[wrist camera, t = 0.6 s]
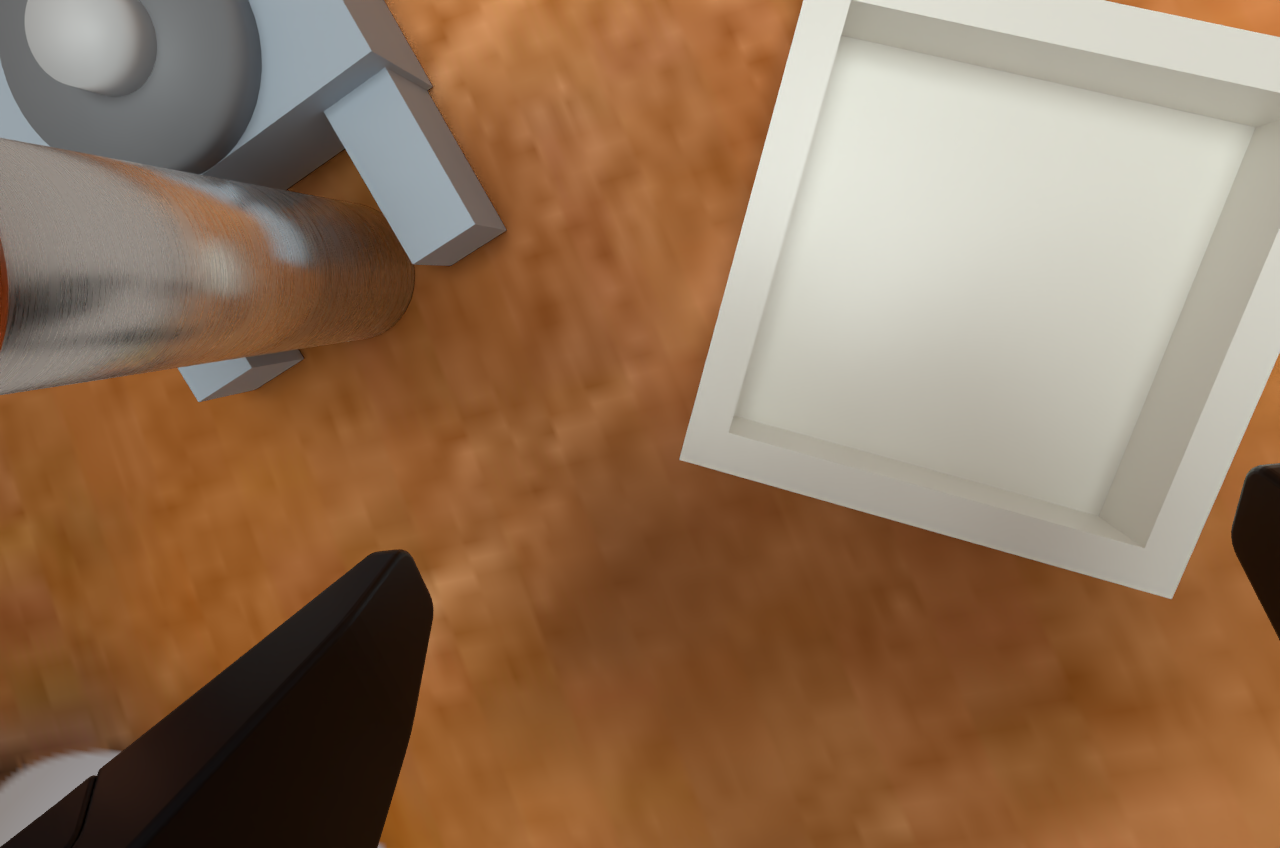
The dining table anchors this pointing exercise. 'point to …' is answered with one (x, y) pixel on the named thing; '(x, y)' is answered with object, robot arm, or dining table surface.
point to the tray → (1007, 276)
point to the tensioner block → (246, 112)
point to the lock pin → (176, 269)
